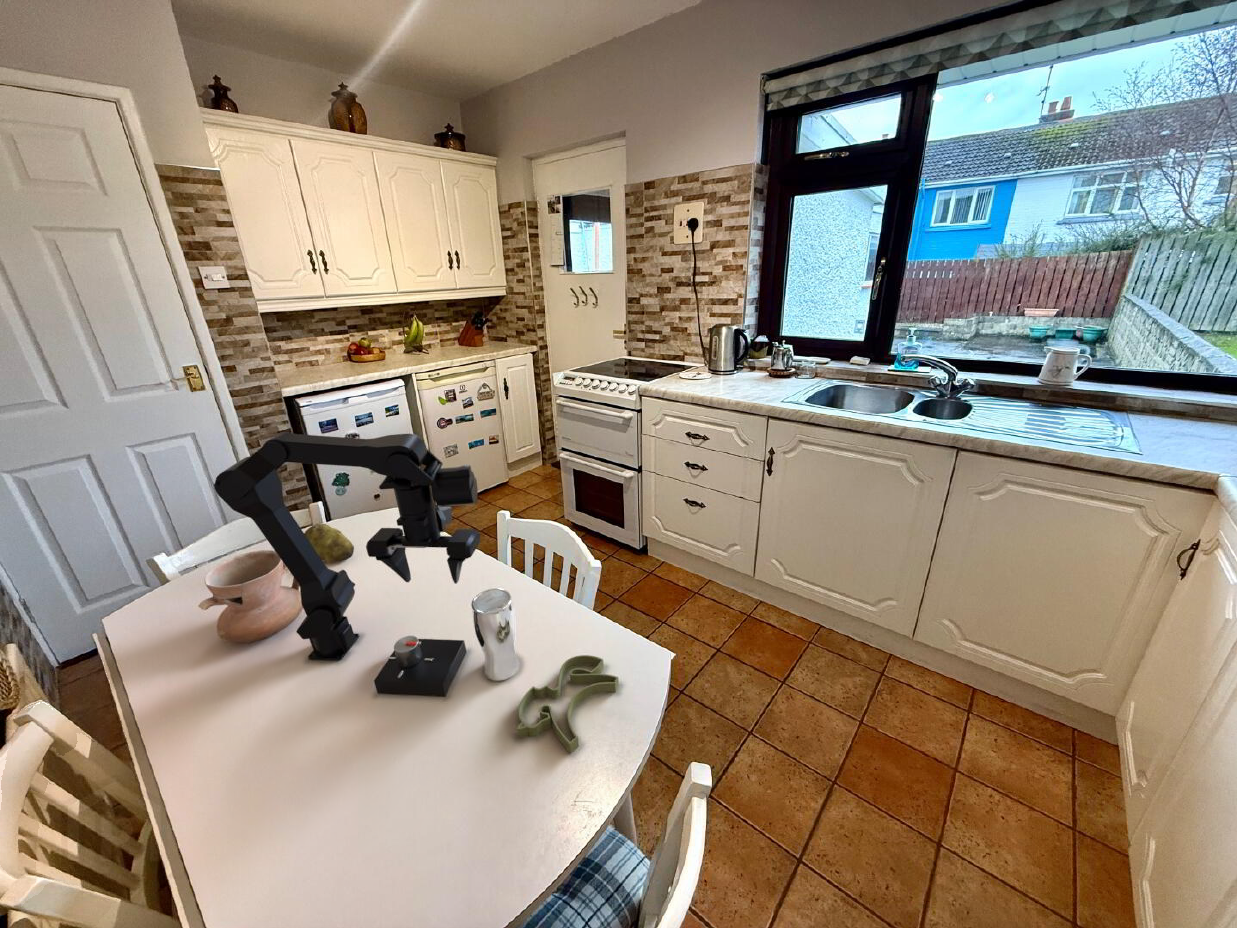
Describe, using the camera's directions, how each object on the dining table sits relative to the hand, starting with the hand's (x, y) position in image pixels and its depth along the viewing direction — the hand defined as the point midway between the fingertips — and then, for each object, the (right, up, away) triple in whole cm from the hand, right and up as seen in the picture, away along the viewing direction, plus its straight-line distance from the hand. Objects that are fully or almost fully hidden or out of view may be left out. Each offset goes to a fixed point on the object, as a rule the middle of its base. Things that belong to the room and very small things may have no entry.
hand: (432, 581), depth 90 cm
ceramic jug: (-37, -11, +10) cm, 40 cm away
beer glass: (+14, -15, -3) cm, 20 cm away
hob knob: (-2, -13, -4) cm, 14 cm away
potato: (-38, -2, +32) cm, 50 cm away
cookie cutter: (+26, -18, -10) cm, 33 cm away
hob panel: (0, -15, -3) cm, 16 cm away
